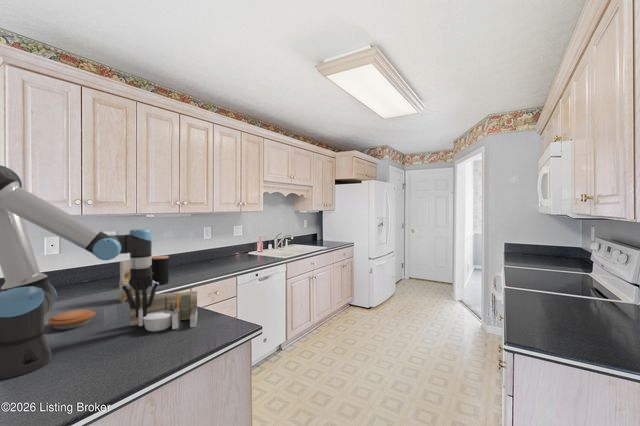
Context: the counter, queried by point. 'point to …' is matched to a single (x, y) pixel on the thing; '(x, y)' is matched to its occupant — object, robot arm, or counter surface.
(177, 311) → the gauge sled
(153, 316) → the ramekin
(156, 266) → the coffee jar
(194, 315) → the white striped block
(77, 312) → the pie
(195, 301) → the scale board
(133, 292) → the staircase
